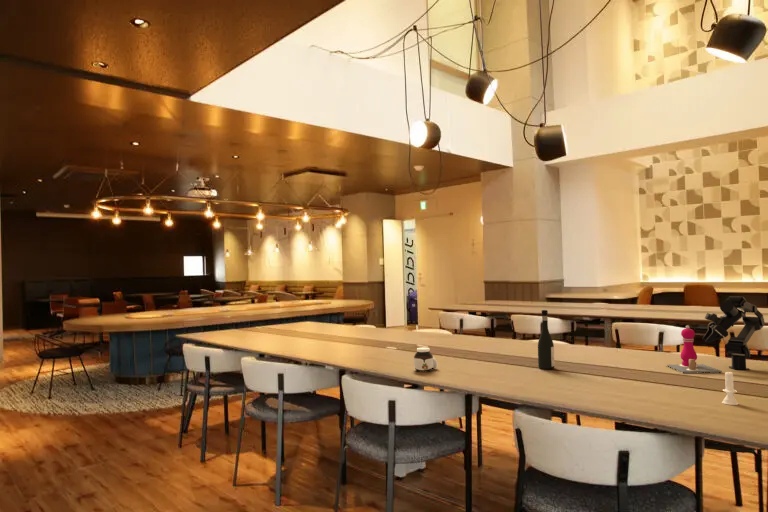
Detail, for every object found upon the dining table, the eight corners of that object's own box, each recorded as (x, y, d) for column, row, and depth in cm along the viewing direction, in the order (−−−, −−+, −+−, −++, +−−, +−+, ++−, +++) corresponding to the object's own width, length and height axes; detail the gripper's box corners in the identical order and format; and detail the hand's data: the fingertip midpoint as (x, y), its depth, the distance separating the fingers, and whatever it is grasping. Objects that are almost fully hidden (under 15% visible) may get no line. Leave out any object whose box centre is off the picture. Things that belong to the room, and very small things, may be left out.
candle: (732, 401, 203) (730, 369, 203) (742, 404, 197) (740, 372, 198) (718, 401, 202) (717, 370, 203) (728, 405, 197) (726, 372, 197)
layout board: (722, 373, 252) (721, 360, 252) (682, 373, 254) (682, 360, 254) (703, 366, 269) (702, 354, 269) (666, 366, 270) (666, 354, 271)
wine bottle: (552, 366, 278) (550, 309, 279) (556, 369, 270) (554, 310, 271) (537, 366, 279) (535, 309, 280) (540, 369, 271) (538, 310, 272)
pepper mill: (700, 366, 262) (699, 326, 263) (685, 367, 262) (684, 326, 263) (692, 364, 269) (690, 324, 270) (677, 364, 270) (676, 324, 270)
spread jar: (413, 372, 275) (412, 349, 275) (416, 367, 286) (416, 346, 286) (436, 372, 272) (435, 349, 272) (439, 368, 283) (438, 346, 283)
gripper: (712, 306, 271) (688, 327, 275) (719, 308, 254) (693, 331, 258) (730, 321, 268) (706, 343, 272) (739, 325, 250) (713, 348, 254)
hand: (704, 341), depth 264 cm, fingers open, 9 cm apart
